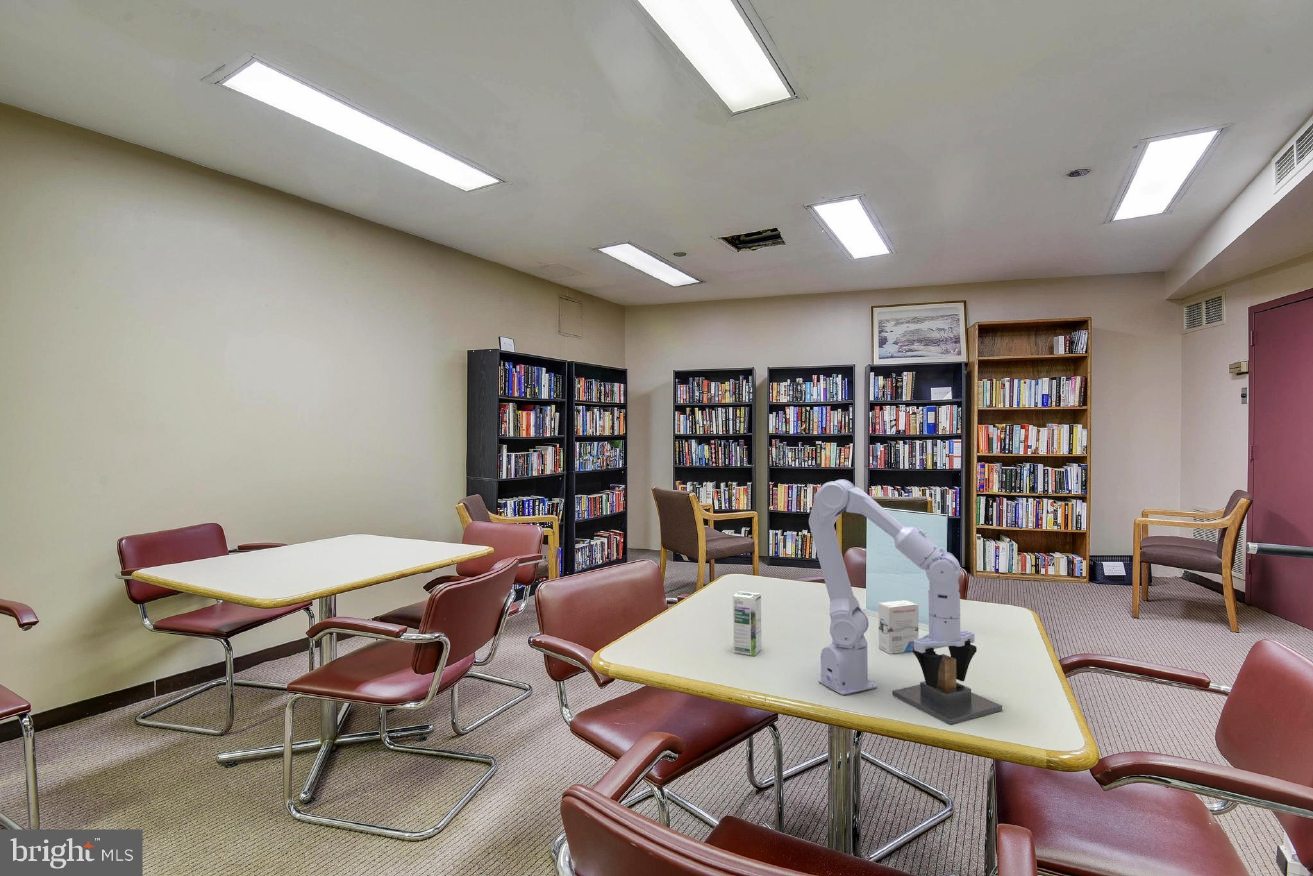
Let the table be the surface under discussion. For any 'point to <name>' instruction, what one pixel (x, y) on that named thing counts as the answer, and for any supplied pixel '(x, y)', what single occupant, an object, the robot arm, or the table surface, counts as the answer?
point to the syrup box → (747, 622)
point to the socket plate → (947, 702)
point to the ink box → (898, 626)
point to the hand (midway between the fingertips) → (945, 682)
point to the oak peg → (947, 673)
